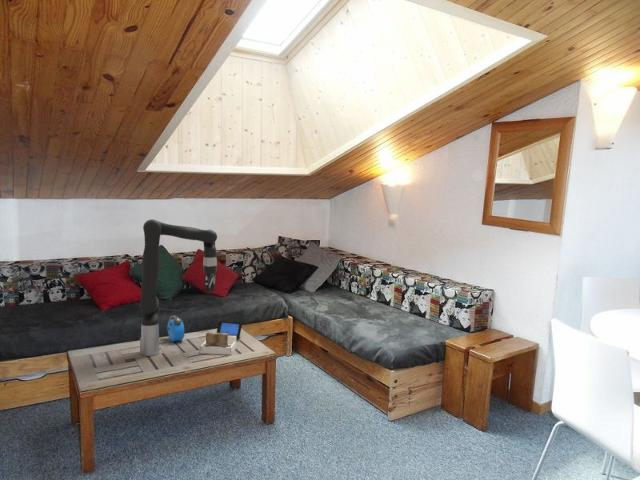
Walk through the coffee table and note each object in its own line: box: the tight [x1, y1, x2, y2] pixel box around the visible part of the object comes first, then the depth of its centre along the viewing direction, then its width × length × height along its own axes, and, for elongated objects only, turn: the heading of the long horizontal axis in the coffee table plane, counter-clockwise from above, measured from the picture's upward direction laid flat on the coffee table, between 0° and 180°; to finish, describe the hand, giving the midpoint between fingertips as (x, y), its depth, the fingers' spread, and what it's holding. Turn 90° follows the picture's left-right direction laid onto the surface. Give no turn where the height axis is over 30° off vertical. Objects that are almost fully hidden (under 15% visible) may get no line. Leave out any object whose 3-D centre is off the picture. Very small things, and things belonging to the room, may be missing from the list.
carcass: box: [199, 336, 237, 356], centre depth 275 cm, size 18×12×7 cm
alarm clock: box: [167, 315, 185, 342], centre depth 290 cm, size 13×6×15 cm, turn 37°
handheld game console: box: [215, 320, 243, 343], centre depth 296 cm, size 16×13×9 cm
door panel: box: [205, 331, 228, 347], centre depth 272 cm, size 12×2×10 cm, turn 86°
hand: (210, 292), depth 276 cm, fingers open, 8 cm apart
